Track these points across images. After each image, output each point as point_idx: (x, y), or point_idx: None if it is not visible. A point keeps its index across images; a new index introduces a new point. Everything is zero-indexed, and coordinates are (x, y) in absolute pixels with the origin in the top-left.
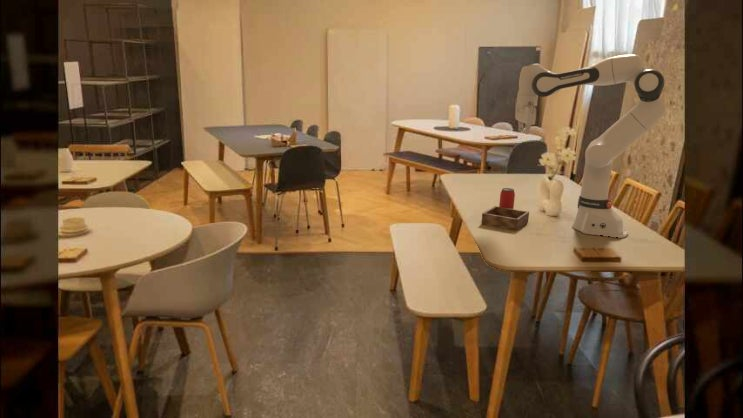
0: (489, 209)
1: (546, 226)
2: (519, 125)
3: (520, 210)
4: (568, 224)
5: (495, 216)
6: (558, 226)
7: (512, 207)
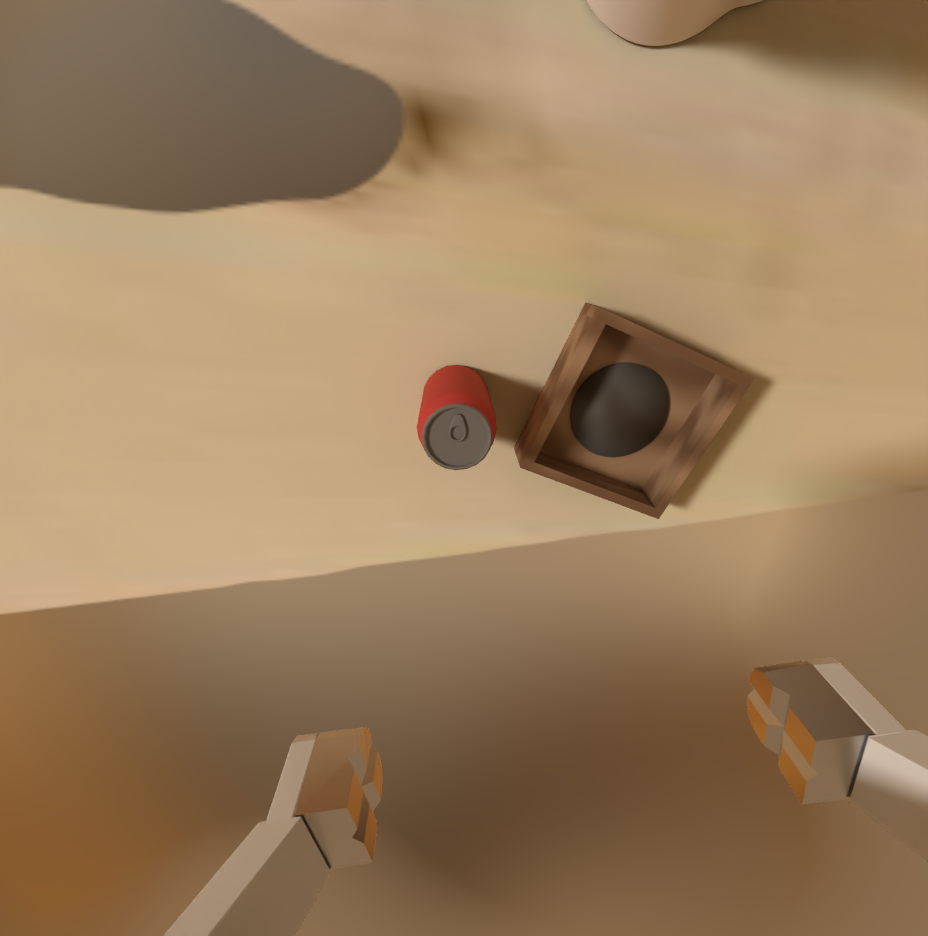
0: (587, 490)
1: (641, 212)
2: (298, 915)
3: (580, 352)
4: (585, 60)
5: (689, 469)
6: (634, 138)
7: (477, 380)
